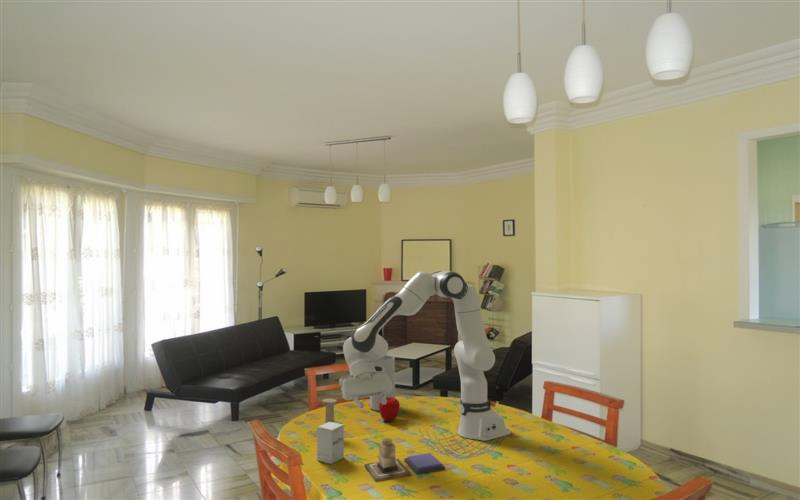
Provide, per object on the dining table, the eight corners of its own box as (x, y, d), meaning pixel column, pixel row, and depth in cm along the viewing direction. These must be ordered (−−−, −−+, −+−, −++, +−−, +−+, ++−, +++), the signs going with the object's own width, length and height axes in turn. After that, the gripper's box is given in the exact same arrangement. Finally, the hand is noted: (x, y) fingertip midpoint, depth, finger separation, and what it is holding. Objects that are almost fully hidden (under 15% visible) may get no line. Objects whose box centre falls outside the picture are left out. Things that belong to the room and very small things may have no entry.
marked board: (398, 460, 189) (398, 458, 189) (411, 475, 177) (411, 472, 177) (364, 466, 184) (364, 463, 184) (375, 481, 172) (375, 478, 172)
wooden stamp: (391, 464, 184) (391, 436, 184) (397, 470, 179) (397, 441, 179) (377, 466, 182) (376, 438, 182) (382, 472, 177) (382, 444, 177)
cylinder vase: (367, 411, 249) (367, 359, 249) (373, 403, 261) (372, 354, 262) (392, 412, 247) (392, 360, 247) (397, 404, 259) (396, 355, 259)
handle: (332, 439, 212) (331, 403, 212) (320, 436, 215) (320, 400, 215) (339, 435, 216) (339, 400, 216) (327, 432, 219) (327, 397, 219)
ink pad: (431, 456, 192) (431, 451, 192) (445, 469, 181) (445, 464, 181) (404, 461, 189) (404, 456, 189) (416, 474, 177) (416, 468, 177)
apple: (387, 425, 228) (387, 400, 228) (374, 420, 236) (374, 396, 236) (404, 420, 235) (403, 396, 235) (390, 415, 242) (390, 392, 242)
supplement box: (331, 464, 186) (331, 430, 186) (316, 460, 190) (316, 426, 190) (344, 457, 192) (344, 424, 193) (329, 453, 196) (329, 420, 196)
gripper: (339, 373, 194) (350, 405, 185) (387, 366, 204) (399, 397, 195) (335, 382, 198) (345, 414, 189) (382, 375, 208) (394, 405, 199)
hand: (373, 405), depth 192 cm, fingers open, 8 cm apart
